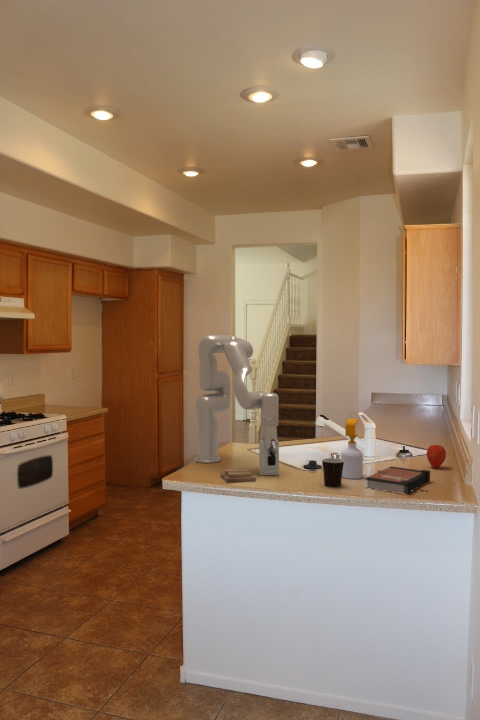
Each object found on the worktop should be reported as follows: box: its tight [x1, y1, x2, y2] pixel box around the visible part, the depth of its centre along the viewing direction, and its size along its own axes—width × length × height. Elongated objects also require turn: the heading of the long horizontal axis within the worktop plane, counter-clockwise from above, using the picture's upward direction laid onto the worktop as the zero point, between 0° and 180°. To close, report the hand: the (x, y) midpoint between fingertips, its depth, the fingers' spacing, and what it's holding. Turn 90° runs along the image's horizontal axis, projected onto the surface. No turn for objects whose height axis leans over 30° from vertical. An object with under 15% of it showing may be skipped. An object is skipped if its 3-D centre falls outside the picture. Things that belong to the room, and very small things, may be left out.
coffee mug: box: [321, 457, 344, 488], centre depth 235 cm, size 12×9×10 cm
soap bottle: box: [340, 417, 364, 480], centre depth 251 cm, size 9×9×25 cm
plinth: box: [220, 468, 257, 484], centre depth 246 cm, size 12×12×3 cm
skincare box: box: [258, 438, 280, 476], centre depth 255 cm, size 8×6×15 cm
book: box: [365, 466, 431, 494], centre depth 239 cm, size 26×18×5 cm
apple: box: [426, 444, 447, 469], centre depth 270 cm, size 9×8×11 cm
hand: (268, 463), depth 255 cm, fingers closed on skincare box, 6 cm apart
